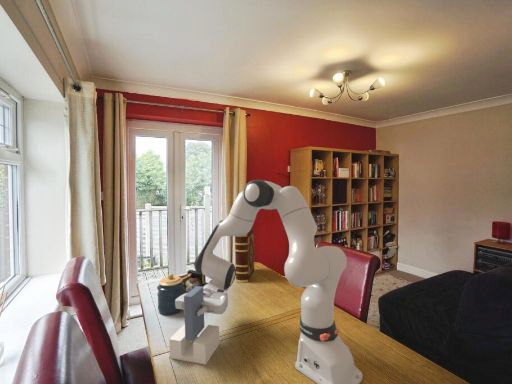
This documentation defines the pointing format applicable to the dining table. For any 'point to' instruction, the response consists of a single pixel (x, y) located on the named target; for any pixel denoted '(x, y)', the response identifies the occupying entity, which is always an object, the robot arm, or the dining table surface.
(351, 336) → the dining table surface
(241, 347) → the dining table surface
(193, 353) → the book stand
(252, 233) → the decorative book
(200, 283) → the bookend
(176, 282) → the canister
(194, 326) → the slim book
